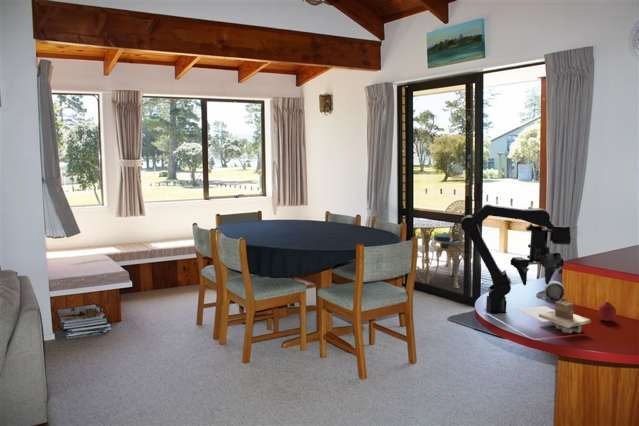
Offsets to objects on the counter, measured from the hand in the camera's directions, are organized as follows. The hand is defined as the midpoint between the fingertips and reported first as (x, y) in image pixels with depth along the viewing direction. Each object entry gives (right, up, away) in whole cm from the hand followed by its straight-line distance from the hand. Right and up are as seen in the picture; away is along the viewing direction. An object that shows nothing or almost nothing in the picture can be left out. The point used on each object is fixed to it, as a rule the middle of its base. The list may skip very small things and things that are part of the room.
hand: (535, 284), depth 204 cm
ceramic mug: (+15, -9, +24) cm, 30 cm away
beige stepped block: (+4, -10, -14) cm, 18 cm away
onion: (+23, -13, -5) cm, 27 cm away
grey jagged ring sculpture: (+5, -14, -13) cm, 20 cm away
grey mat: (+4, -12, +2) cm, 13 cm away
